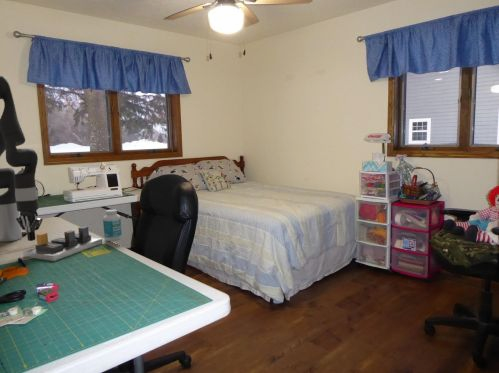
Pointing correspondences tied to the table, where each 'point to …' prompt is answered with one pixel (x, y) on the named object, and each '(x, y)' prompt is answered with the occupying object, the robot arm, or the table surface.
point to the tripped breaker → (42, 238)
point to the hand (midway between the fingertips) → (31, 240)
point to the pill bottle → (112, 226)
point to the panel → (56, 257)
